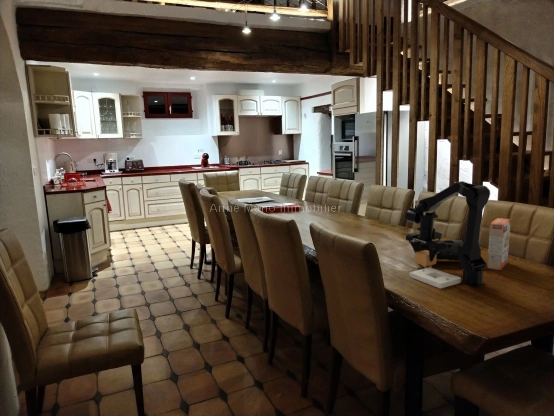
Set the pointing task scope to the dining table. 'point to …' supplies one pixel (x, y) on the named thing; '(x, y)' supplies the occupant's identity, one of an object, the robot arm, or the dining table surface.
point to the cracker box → (498, 243)
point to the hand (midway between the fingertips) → (424, 258)
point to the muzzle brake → (445, 250)
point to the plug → (424, 259)
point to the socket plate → (439, 281)
